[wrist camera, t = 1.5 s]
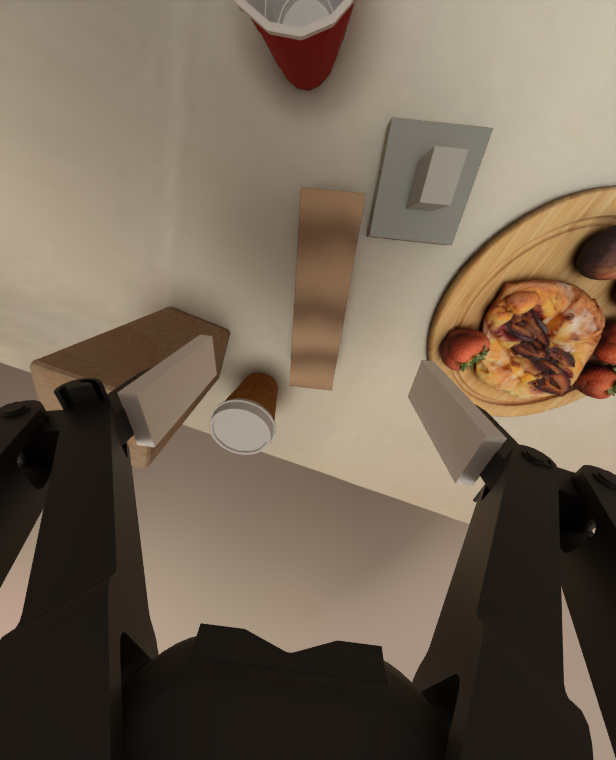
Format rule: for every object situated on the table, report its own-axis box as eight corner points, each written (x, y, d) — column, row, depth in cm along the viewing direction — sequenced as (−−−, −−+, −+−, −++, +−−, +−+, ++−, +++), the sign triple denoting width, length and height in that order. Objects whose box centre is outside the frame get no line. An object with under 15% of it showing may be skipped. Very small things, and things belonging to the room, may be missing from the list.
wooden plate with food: (398, 400, 42) (414, 432, 35) (481, 173, 26) (542, 147, 19) (569, 417, 43) (619, 452, 36) (759, 203, 26) (922, 189, 19)
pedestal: (387, 126, 25) (406, 91, 19) (481, 136, 24) (527, 103, 19) (366, 236, 30) (376, 234, 24) (444, 244, 30) (472, 244, 24)
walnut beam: (307, 200, 28) (301, 187, 22) (355, 206, 28) (365, 193, 21) (295, 361, 40) (289, 385, 33) (330, 365, 40) (331, 390, 33)
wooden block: (168, 305, 36) (24, 361, 19) (231, 330, 37) (150, 404, 20) (163, 358, 41) (45, 442, 24) (219, 379, 42) (145, 471, 25)
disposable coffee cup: (267, 416, 46) (251, 465, 35) (225, 389, 43) (194, 434, 33) (297, 385, 42) (287, 431, 31) (252, 353, 39) (226, 392, 29)
